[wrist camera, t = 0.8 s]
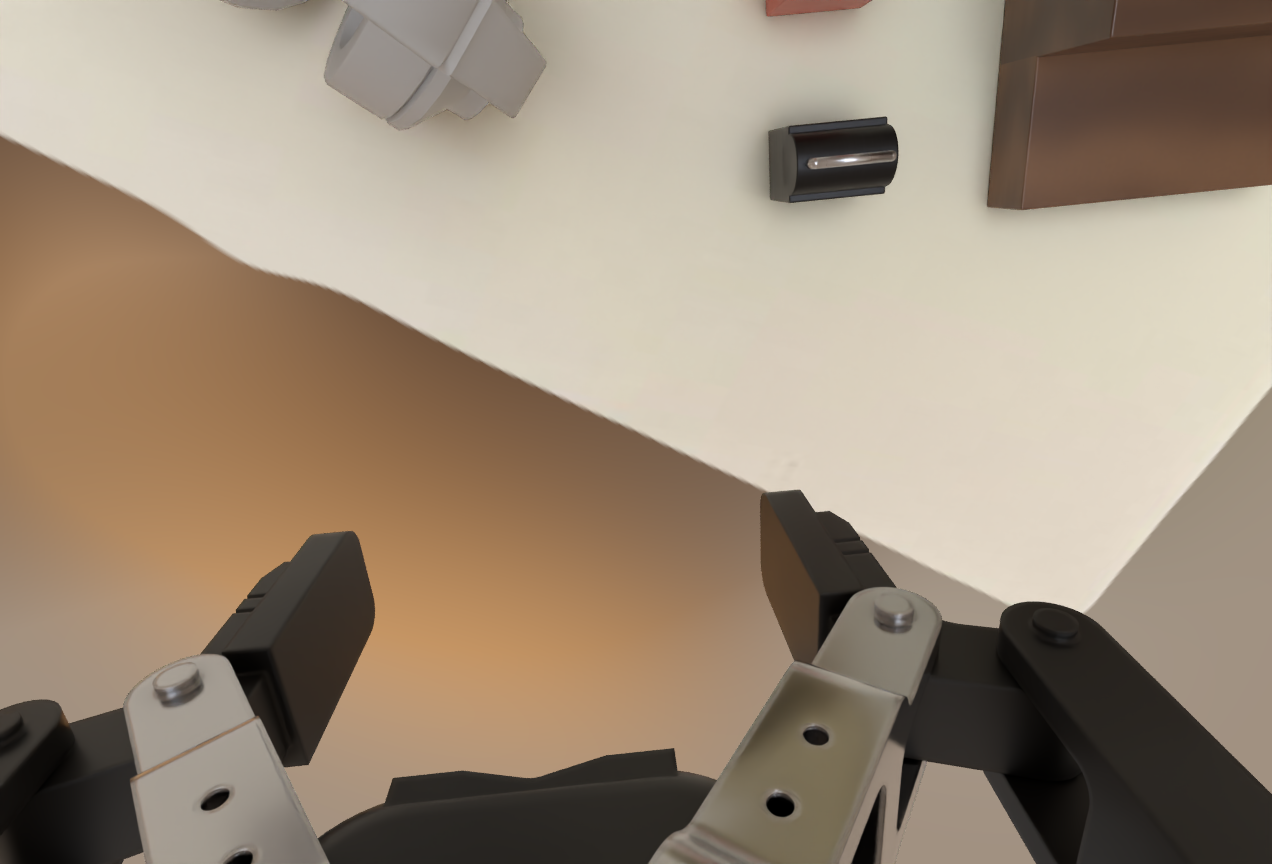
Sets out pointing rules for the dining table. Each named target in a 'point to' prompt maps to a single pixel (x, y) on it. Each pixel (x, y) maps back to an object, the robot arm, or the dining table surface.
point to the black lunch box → (832, 160)
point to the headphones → (428, 57)
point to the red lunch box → (809, 6)
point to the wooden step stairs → (1131, 100)
